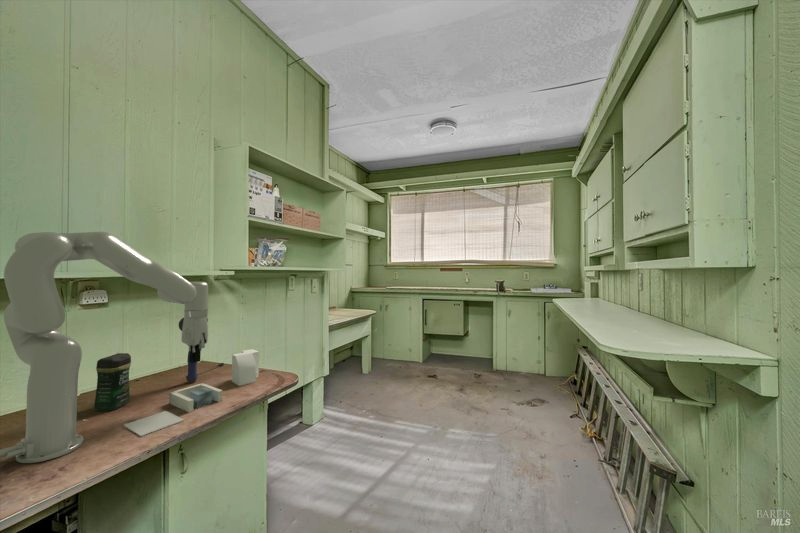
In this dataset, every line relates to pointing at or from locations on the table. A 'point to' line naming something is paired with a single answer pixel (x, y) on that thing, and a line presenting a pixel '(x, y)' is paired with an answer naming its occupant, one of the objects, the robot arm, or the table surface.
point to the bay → (185, 402)
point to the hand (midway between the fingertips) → (194, 361)
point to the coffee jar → (112, 382)
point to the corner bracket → (245, 367)
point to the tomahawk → (209, 369)
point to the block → (201, 397)
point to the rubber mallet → (191, 366)
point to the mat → (153, 423)
